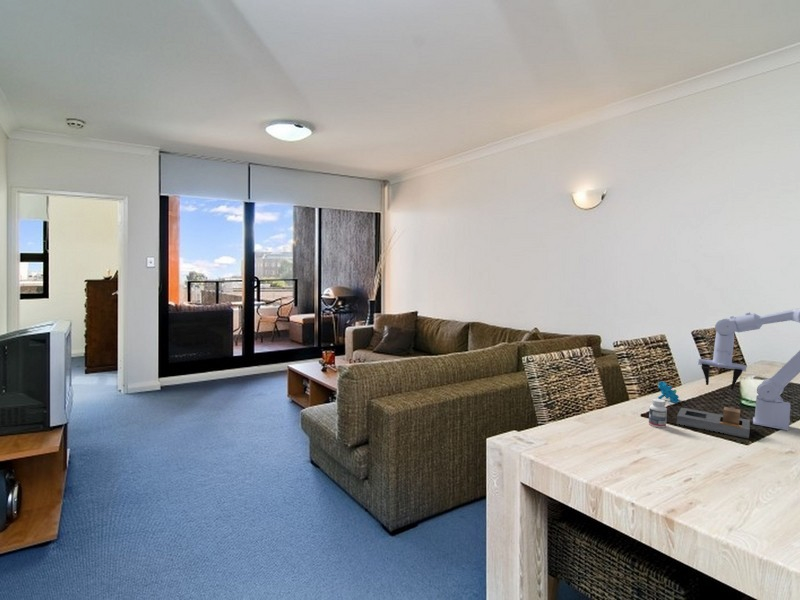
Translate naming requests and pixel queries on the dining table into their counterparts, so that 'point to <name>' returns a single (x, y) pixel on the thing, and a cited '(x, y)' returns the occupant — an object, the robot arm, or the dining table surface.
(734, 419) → the walnut block
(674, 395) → the gear
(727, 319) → the robot arm
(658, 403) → the pill bottle
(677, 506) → the dining table surface
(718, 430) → the rail block
